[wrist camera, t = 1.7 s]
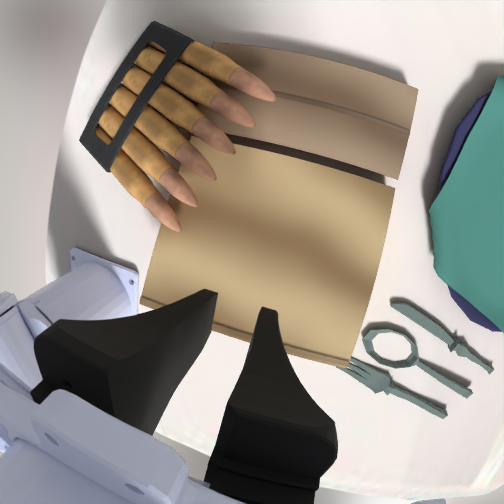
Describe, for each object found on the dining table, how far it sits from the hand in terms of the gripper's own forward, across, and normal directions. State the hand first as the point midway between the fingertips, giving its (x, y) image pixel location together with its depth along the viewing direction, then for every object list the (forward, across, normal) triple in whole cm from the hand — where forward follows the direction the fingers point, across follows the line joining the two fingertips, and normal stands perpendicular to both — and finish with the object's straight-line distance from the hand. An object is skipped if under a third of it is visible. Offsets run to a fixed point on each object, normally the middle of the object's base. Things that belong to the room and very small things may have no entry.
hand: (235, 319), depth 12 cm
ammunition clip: (+8, +14, -10) cm, 19 cm away
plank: (+7, 0, -1) cm, 7 cm away
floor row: (+9, 0, -10) cm, 14 cm away
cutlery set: (+10, -18, -4) cm, 21 cm away
